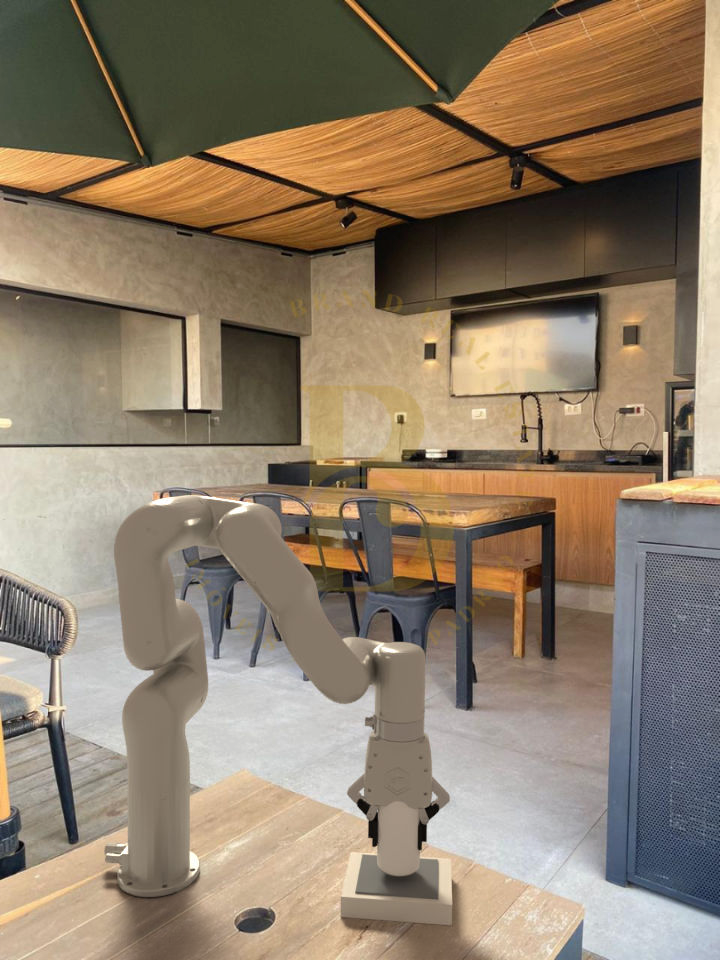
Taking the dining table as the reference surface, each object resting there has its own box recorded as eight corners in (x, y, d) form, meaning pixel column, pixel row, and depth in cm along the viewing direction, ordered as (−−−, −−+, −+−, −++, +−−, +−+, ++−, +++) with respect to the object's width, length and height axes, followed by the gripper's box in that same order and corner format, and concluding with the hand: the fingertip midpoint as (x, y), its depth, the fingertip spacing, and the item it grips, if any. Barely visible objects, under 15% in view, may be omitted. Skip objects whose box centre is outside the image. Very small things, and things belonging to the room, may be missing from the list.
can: (417, 880, 107) (418, 800, 107) (373, 875, 108) (374, 795, 108) (422, 857, 113) (423, 780, 113) (381, 852, 115) (382, 776, 114)
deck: (340, 916, 106) (340, 894, 106) (350, 870, 118) (350, 850, 118) (451, 925, 104) (452, 902, 104) (450, 877, 116) (450, 856, 116)
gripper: (339, 732, 107) (337, 853, 108) (457, 739, 105) (455, 861, 106) (345, 714, 115) (344, 827, 115) (456, 720, 113) (454, 835, 114)
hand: (397, 842), depth 111 cm, fingers closed on can, 6 cm apart
